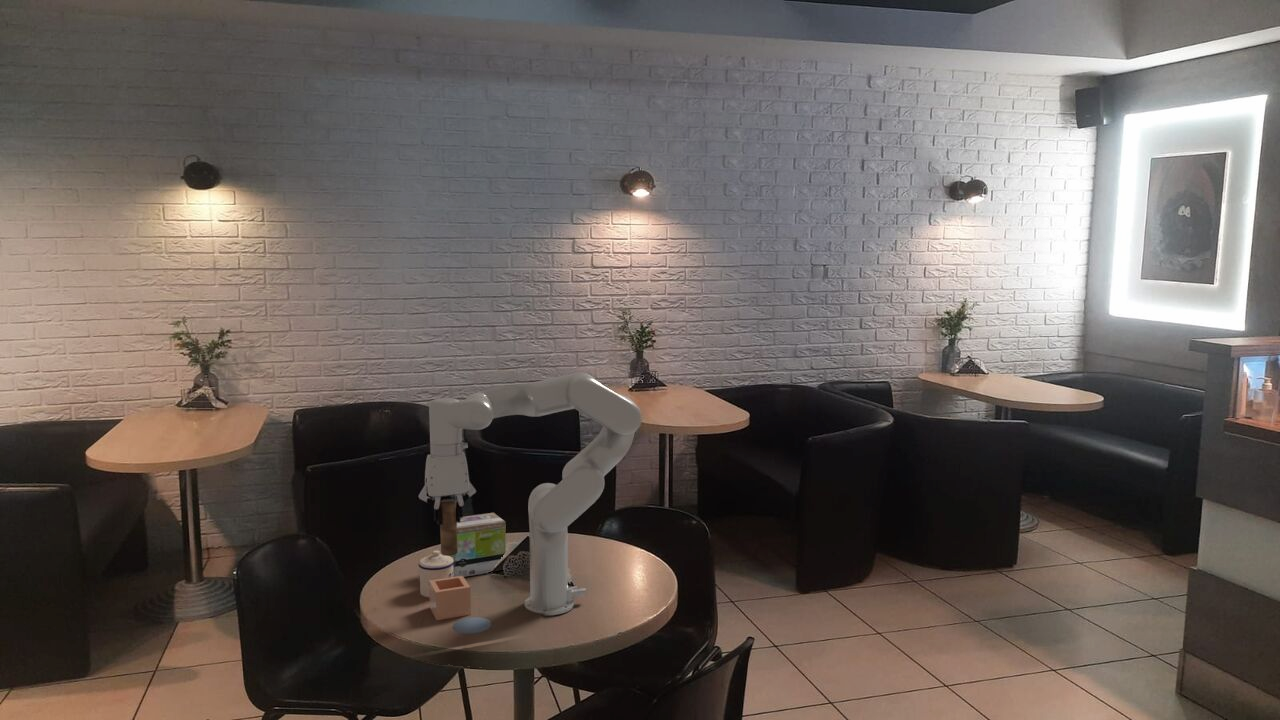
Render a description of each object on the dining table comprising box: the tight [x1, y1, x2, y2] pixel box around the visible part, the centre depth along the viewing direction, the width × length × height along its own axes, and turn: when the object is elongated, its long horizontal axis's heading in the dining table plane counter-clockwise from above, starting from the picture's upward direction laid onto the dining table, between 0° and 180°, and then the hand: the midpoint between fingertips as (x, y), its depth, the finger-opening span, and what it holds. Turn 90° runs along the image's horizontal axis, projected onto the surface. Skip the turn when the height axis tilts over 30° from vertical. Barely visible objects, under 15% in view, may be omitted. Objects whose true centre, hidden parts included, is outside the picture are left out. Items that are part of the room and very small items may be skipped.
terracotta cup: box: [429, 576, 472, 621], centre depth 217 cm, size 8×8×8 cm
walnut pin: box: [439, 498, 458, 556], centre depth 215 cm, size 4×4×13 cm
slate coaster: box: [452, 616, 492, 634], centre depth 209 cm, size 9×9×1 cm
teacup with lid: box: [418, 550, 454, 598], centre depth 231 cm, size 12×9×12 cm
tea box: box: [450, 512, 507, 578], centre depth 247 cm, size 15×10×15 cm, turn 120°
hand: (448, 521), depth 215 cm, fingers closed on walnut pin, 4 cm apart
